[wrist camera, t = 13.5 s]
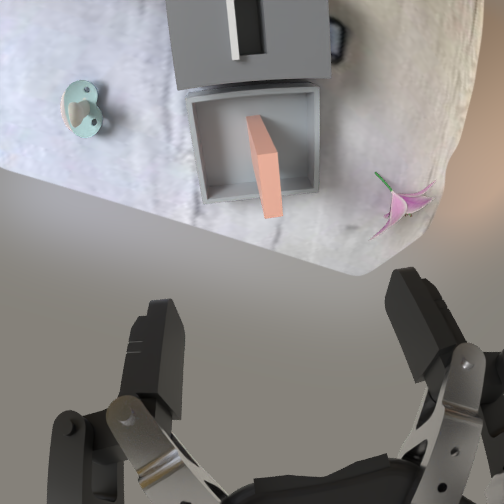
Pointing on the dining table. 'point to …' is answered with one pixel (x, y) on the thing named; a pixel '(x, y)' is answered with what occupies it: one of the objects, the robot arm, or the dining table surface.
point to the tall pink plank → (265, 167)
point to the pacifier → (81, 109)
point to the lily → (404, 205)
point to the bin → (237, 140)
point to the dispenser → (248, 40)
